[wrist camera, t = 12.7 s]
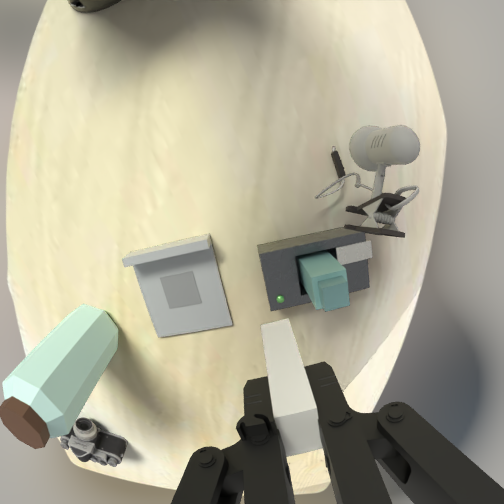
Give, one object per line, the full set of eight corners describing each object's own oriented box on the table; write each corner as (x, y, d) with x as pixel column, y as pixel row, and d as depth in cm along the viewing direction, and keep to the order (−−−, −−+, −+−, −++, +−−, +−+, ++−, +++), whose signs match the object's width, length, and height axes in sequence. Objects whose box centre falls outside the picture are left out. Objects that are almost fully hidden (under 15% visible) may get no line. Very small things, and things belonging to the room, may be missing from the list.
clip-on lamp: (348, 219, 41) (415, 253, 24) (306, 211, 41) (354, 241, 23) (362, 139, 38) (437, 125, 21) (320, 128, 38) (377, 101, 20)
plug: (295, 252, 41) (315, 284, 30) (322, 246, 41) (352, 275, 30) (299, 279, 43) (320, 317, 31) (326, 273, 42) (355, 308, 31)
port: (257, 245, 42) (259, 254, 37) (356, 224, 41) (370, 230, 37) (268, 297, 44) (271, 312, 39) (362, 275, 43) (374, 287, 39)
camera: (127, 425, 50) (115, 460, 41) (129, 446, 53) (119, 479, 43) (63, 403, 49) (45, 433, 39) (69, 426, 51) (54, 454, 41)
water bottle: (83, 352, 45) (16, 449, 21) (64, 302, 43) (-26, 388, 19) (130, 351, 45) (73, 465, 21) (112, 297, 43) (25, 400, 19)
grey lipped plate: (130, 251, 41) (121, 258, 38) (209, 233, 41) (206, 239, 37) (159, 335, 45) (153, 347, 41) (232, 323, 44) (232, 335, 41)
